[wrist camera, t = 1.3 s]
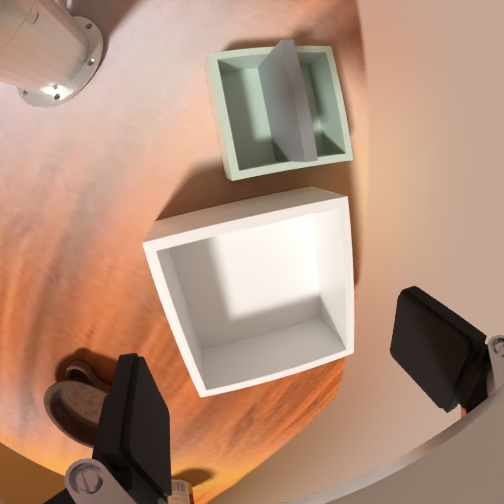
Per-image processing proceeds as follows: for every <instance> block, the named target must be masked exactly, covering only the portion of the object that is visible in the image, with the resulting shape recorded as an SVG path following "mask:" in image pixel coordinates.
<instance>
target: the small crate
mask: <svg viewBox="0 0 504 504" xmlns="http://www.w3.org/2000/svg"><path fill="white" fill-rule="evenodd" d="M205 75H206V80H207V85H208V90H209V95H210V101H211V106H212V111H213V116H214V121H215V126H216V131H217V136H218V141H219V146H220V151H221V156H222V161H223V166H224V171H225V176H226V178H228V179H230V180H232V181H234V180H239V179H244V178H249V177H254V176H259V175H264V174H269V173H275V172H280V171H286V170H292V169H297V168H303V167H309V166H316V165H322V164H329V163H336V162H343V161H350V160H353V155H352V148H351V141H350V135H349V128H348V123H347V117H346V111H345V106H344V101H343V96H342V91H341V86H340V81H339V77H338V72H337V68H336V64H335V60H334V56H333V52H332V48H331V46H295V43H294V39H281V40H280V41H279V42H278V43H277V44H276V46H275V47H260V48H248V49H239V50H230V51H223V52H216V53H209V54H207V60H206V66H205Z"/></svg>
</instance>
